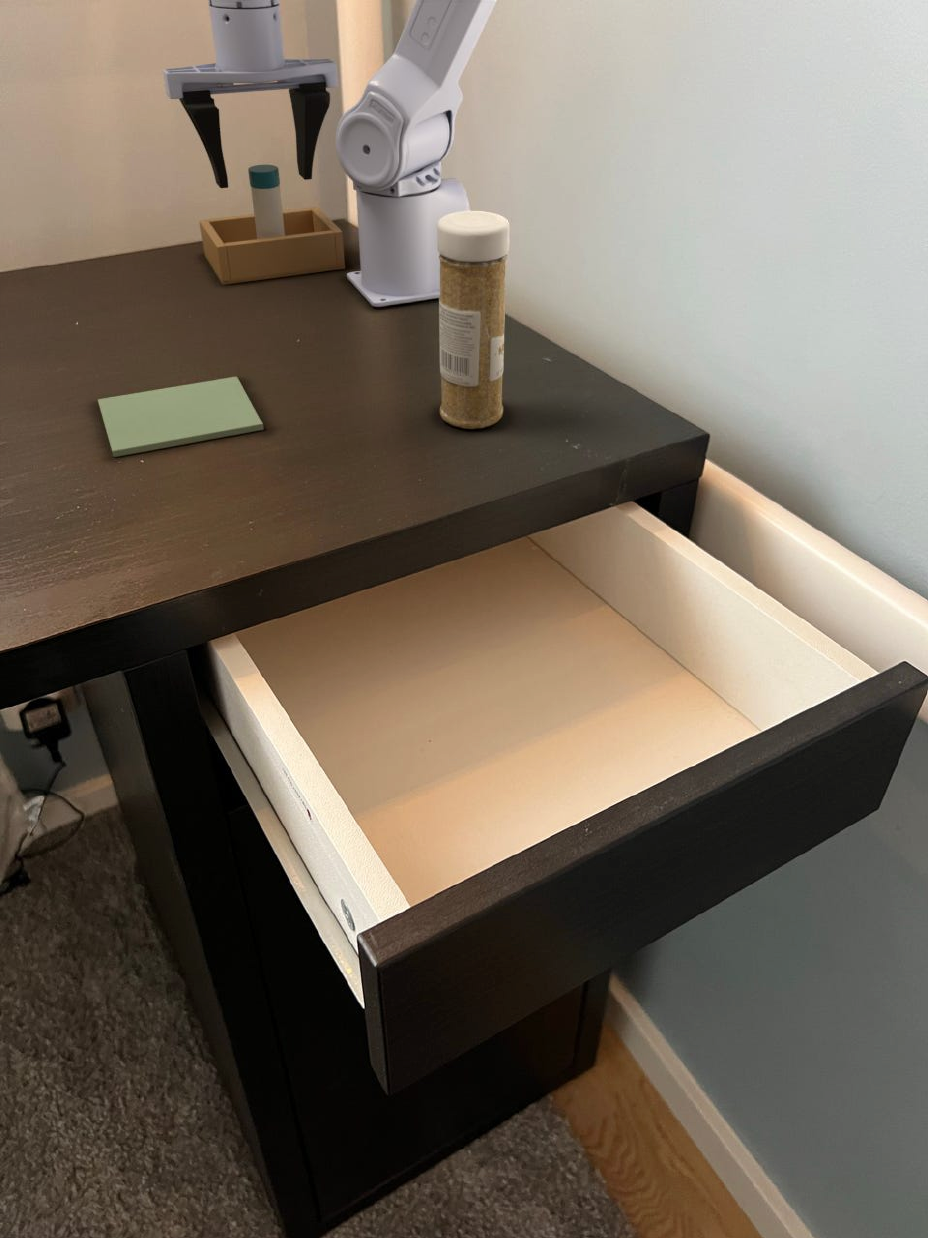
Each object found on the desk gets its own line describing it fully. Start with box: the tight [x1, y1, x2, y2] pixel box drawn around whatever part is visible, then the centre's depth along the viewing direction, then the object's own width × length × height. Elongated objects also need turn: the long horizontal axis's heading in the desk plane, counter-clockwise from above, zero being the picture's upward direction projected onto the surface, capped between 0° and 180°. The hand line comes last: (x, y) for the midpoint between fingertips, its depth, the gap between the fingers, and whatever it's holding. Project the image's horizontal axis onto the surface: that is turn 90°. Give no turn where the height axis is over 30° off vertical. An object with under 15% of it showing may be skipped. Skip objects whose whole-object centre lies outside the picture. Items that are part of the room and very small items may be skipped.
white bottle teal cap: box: [247, 164, 285, 239], centre depth 89 cm, size 3×3×8 cm
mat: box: [97, 376, 264, 458], centre depth 67 cm, size 10×8×1 cm
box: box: [198, 206, 346, 286], centre depth 91 cm, size 12×8×3 cm
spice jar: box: [437, 210, 511, 430], centre depth 64 cm, size 5×5×14 cm
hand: (264, 180), depth 87 cm, fingers open, 7 cm apart
